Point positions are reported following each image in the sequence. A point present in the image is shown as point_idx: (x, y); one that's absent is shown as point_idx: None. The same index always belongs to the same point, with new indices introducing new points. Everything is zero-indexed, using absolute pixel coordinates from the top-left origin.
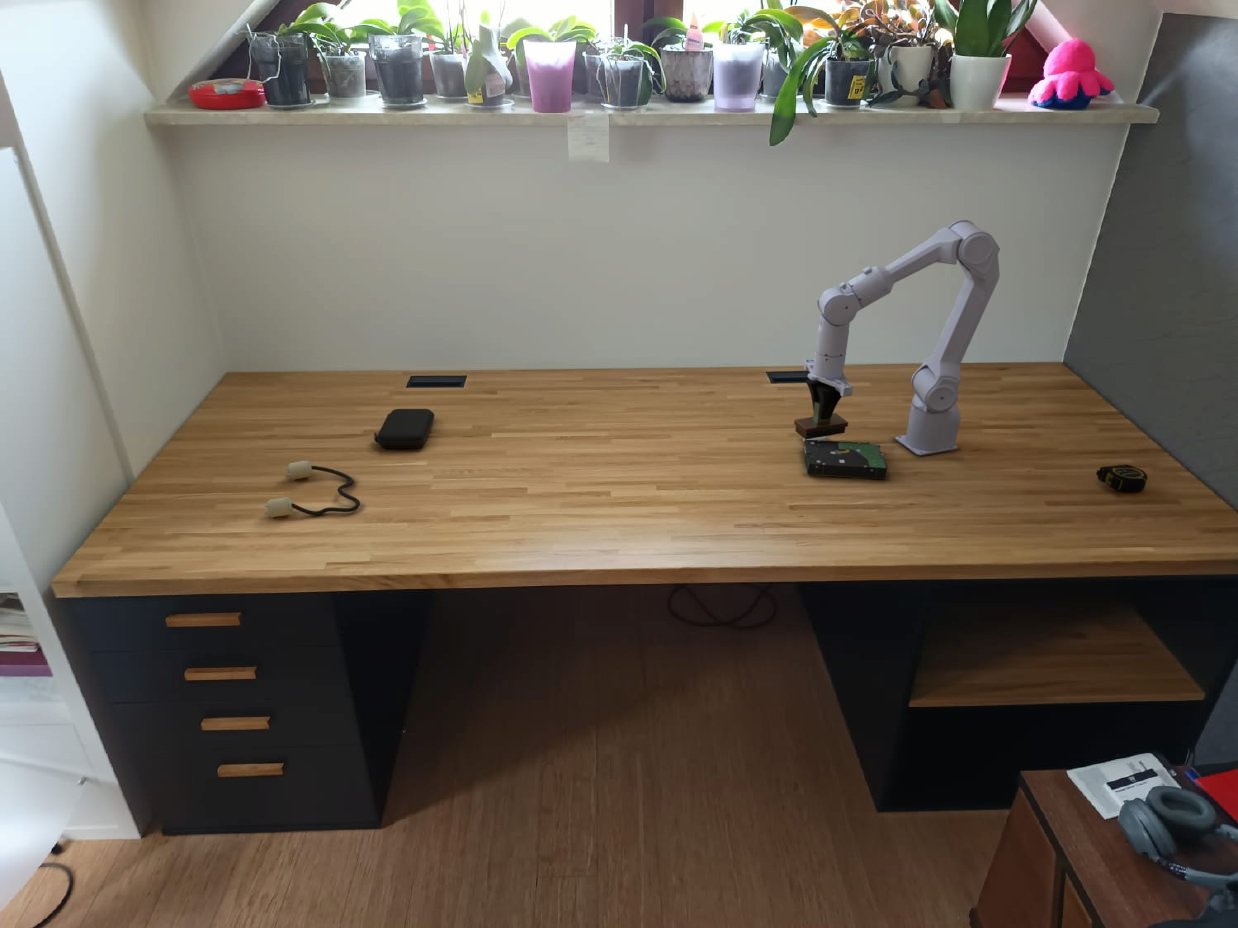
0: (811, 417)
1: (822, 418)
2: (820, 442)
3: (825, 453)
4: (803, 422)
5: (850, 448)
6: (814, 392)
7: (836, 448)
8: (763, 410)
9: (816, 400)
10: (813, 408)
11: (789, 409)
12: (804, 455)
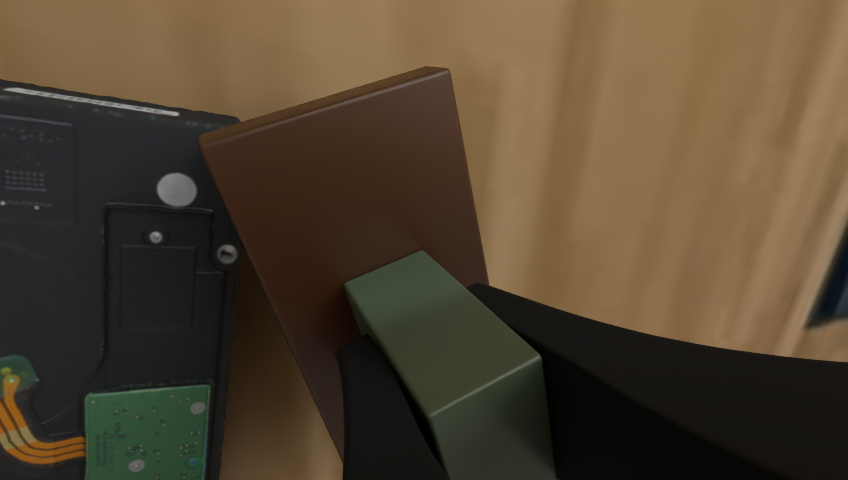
0: (473, 246)
1: (338, 360)
2: (209, 259)
3: None
4: (381, 152)
5: (105, 466)
6: (680, 443)
7: (78, 375)
8: (745, 9)
9: (564, 381)
10: (507, 298)
11: (710, 154)
12: (87, 94)
